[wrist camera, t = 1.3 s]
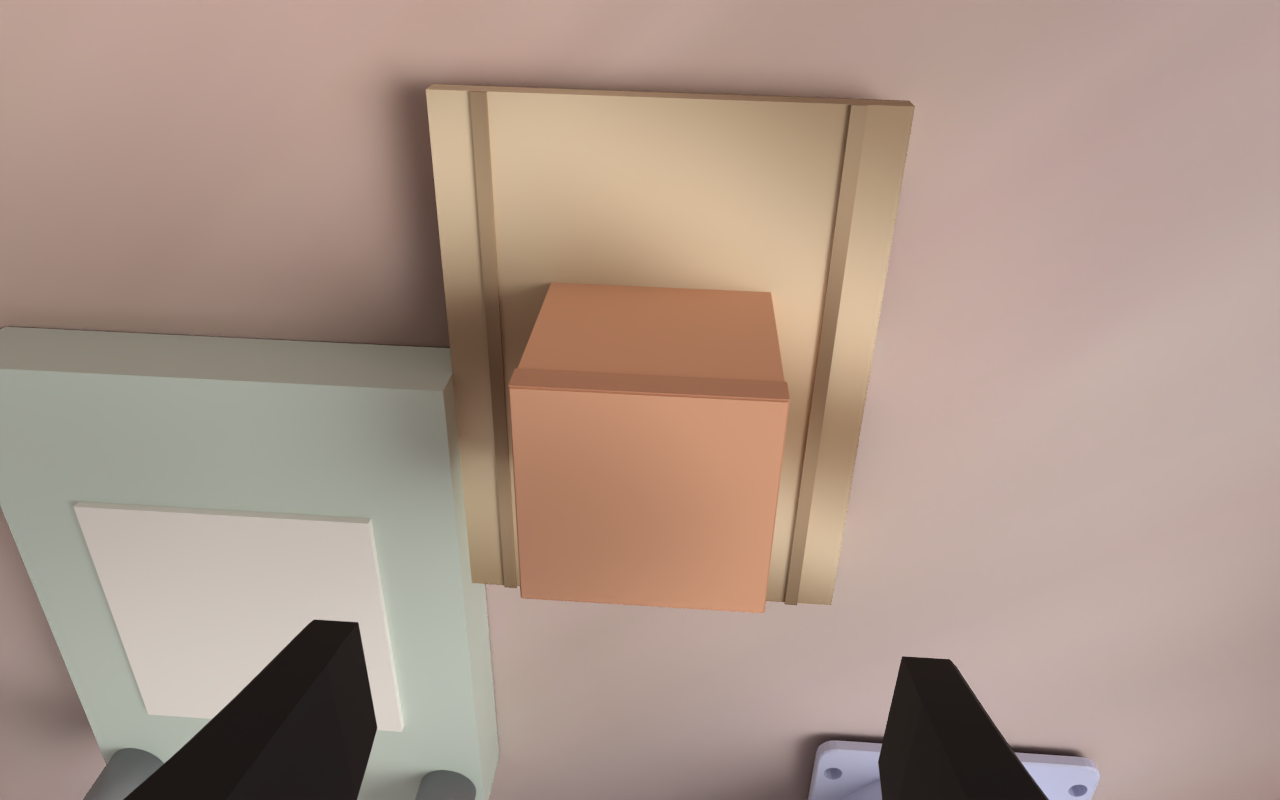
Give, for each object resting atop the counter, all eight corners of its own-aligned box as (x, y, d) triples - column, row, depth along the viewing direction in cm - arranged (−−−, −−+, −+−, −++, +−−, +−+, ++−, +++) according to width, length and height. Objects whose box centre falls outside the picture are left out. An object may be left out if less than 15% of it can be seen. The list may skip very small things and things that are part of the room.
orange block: (753, 476, 21) (764, 614, 17) (555, 465, 21) (520, 599, 17) (772, 290, 18) (789, 400, 14) (549, 280, 19) (507, 387, 15)
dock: (499, 755, 28) (460, 916, 23) (151, 731, 28) (51, 884, 24) (464, 349, 21) (401, 471, 17) (4, 326, 21) (-175, 439, 17)
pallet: (825, 572, 23) (831, 606, 22) (482, 552, 24) (471, 585, 23) (902, 93, 17) (915, 107, 16) (442, 77, 18) (424, 90, 17)
